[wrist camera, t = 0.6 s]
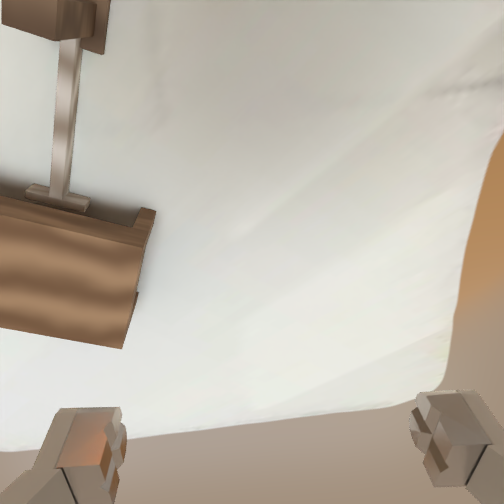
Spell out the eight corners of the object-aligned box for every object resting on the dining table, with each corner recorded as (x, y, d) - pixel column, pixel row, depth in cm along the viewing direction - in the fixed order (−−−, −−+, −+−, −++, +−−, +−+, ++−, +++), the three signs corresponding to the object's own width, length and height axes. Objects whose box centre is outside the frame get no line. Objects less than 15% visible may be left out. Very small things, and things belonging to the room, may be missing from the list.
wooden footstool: (-41, 160, 48) (-98, 191, 39) (156, 211, 53) (143, 248, 44) (-36, 267, 56) (-84, 312, 47) (136, 302, 60) (121, 349, 52)
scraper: (44, -33, 39) (-21, -52, 29) (116, -7, 40) (79, -16, 30) (33, 190, 50) (-16, 234, 40) (89, 204, 52) (56, 250, 42)
